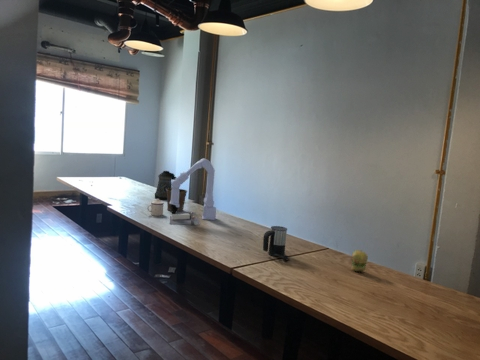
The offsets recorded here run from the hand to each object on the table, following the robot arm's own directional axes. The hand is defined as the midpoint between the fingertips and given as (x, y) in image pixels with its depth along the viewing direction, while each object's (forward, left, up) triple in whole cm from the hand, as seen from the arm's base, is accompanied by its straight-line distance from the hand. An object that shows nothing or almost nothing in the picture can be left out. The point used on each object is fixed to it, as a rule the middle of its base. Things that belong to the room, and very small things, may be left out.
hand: (173, 215), depth 272 cm
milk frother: (-56, +81, -2) cm, 98 cm away
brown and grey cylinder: (-12, +18, -2) cm, 22 cm away
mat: (-7, +8, -2) cm, 11 cm away
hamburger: (-90, +102, -2) cm, 136 cm away
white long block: (-5, +5, -2) cm, 7 cm away
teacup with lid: (+14, -8, -2) cm, 16 cm away
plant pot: (-1, -26, -2) cm, 26 cm away
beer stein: (+8, -76, -2) cm, 77 cm away
